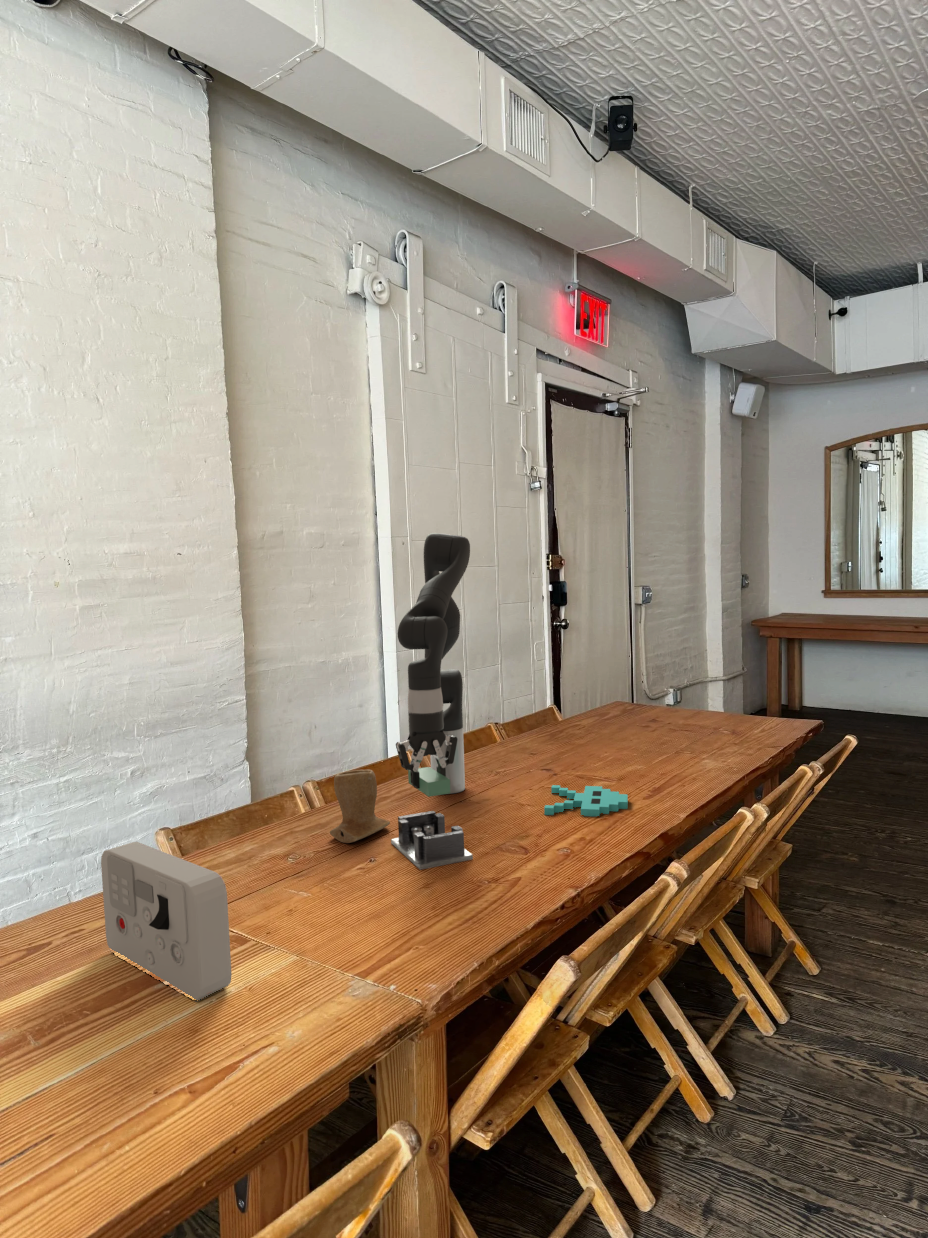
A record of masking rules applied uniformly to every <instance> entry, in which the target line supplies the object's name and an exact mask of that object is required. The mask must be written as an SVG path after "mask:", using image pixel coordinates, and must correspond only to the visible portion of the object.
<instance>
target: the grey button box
mask: <svg viewBox="0 0 928 1238" xmlns="http://www.w3.org/2000/svg"><path fill="white" fill-rule="evenodd" d="M100 867H101V868H100V870H101V882H102V885H101V886H102V897H103V911H104V924H105V925H104V928H105V938H106V943H107V947H108V949H109V948H111V949H112V950H114V951H116V952H118V953H120V954H121V955H124V956H125V957H127V958H128V959H130V960H131V961H133V962H135V963H137V964H138V965H140V966H142V967H143V968H145V969H147V970H148V971H150V972H152V973H153V974H155V975H156V976H158V977H160V978H161V979H163V980H165V981H167V982H169V983H170V984H172V985H173V986H175V987H177V988H178V989H180V990H182V991H183V992H185V993H186V994H188V995H190V996H192V997H193V998H194V999H196V1000H199V1001H201V1000H203V999H205V998H207V997H209V996H208V995H210V994H212V993H214V992H216V991H218V990H220V989H222V988H224V987H226V986H227V987H229V985H230V984H231V983H232V975H233V974H232V957H231V941H230V925H229V924H230V923H229V906H228V892H227V887H226V883H225V881H224V879H223V877H222V875H220V874H219V873H218V872H216V871H215V870H212V869H208V868H206V867H204V866H201V865H199V864H196V863H194V862H191V861H188V860H186V859H183V858H181V857H178V856H175V855H172V854H170V853H167V852H165V851H162V850H159V849H157V848H154V847H152V846H149V845H146V844H143V843H141V842H140V841H139V842H138V841H133V842H129V843H126V844H122V845H119V846H115V847H112V848H110V849H106V850H104V851H103V853H102V854H101V859H100ZM227 987H226V988H227ZM224 989H225V988H224ZM222 990H223V989H222ZM220 991H221V990H220ZM218 992H219V991H218ZM216 993H217V992H216ZM214 994H215V993H214ZM212 995H213V994H212ZM206 996H207V997H206ZM210 996H211V995H210ZM204 997H205V998H204ZM202 998H203V999H202ZM200 999H201V1000H200Z"/></svg>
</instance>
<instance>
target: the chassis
mask: <svg viewBox="0 0 928 1238" xmlns="http://www.w3.org/2000/svg"><path fill="white" fill-rule="evenodd" d="M445 819H446V818H445V815H444V814H443V813H441V812H439V813H436V811H434V810H431V811H429V810H428V811H424V812H419V813H418V812H417V813H412V814H411V813H410V814H406V815H399V816H397V825H398V826H397V827H398V837H393V838H391V839H390V841H391V842H390V843H391V845H392V846H394V847H395V849H397V850H398V851H399V852H400V853H401V854H402V855H404V857H405V858H407V859H408V860H409V861H410V862H411V863H412V864H413V865H414V866H416V868H417V869H419V870H426V869H431V868H435V867H443V866H445V865H446V866H447V865H451V864H457V863H461V862H467V861H472V860H473V858H474V857H473V856H474V855H473V853H471V852H469V851H468V850H467V849H466V848H465V833H464V831H463V828H462V827H461V826H459V825H453V826H451V829H450V830H451V832H446V822H445V821H446V820H445Z"/></svg>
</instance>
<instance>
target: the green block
mask: <svg viewBox="0 0 928 1238" xmlns="http://www.w3.org/2000/svg"><path fill="white" fill-rule="evenodd" d="M418 771H419V783H420V788H418V789H417V791H419V792H421V793H422V794H424V795H426V797H428V798H430V797H436V796H440V795H441V796H443V795H449V793H450V779H448V778H447V777H445V776H443V775H442V774H440V773H438V772H437V771H435V770H433V769H432V768H431V766H424V767H419V769H418ZM407 772H408V773H407V776H408V778H407V779H408V784H410V786H411V787H414V786H413V785H412V784H411V774H410V770H407Z"/></svg>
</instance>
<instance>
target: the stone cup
mask: <svg viewBox="0 0 928 1238" xmlns="http://www.w3.org/2000/svg"><path fill="white" fill-rule="evenodd" d="M333 785H334V786H333V787H334V794H335V797H336V799H337V801H338V802H337V803H338V804H339V808H340V811H341V815H342V818H341V819H342V821H341V823H340V824H339V825H337V826H336V827H335V828H332V829H331V830H330V831H329V835H331V836H332V837H333V838H334V839H336V840H337V841H339V842H340V843H344V844H350V843H355V842H357V841H359V840H362V839H364V838H367V837H369V836H371V835H373V834H375V833H377V832H380V831H381V830H383V829H385V828H386V827H388V826H389V825H390V824H391V821H390V820H387V819H383V818H381V817H378V816H376V813H375V809H376V801H377V797H378V796H377V795H378V786H377V785H378V784H377V779H376V774H375V772H374V770H372V769H354V770H347V771H342V772H339V773H337V774H335V775H334V779H333Z"/></svg>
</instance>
